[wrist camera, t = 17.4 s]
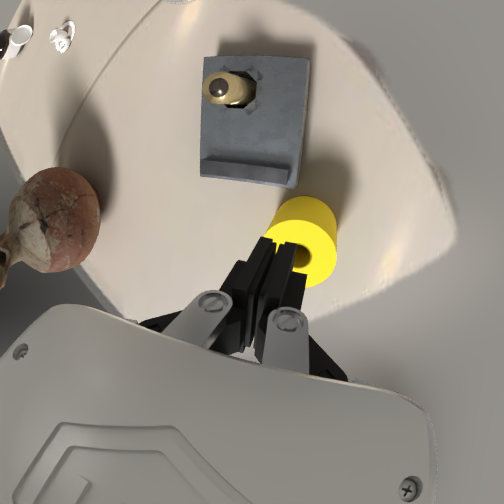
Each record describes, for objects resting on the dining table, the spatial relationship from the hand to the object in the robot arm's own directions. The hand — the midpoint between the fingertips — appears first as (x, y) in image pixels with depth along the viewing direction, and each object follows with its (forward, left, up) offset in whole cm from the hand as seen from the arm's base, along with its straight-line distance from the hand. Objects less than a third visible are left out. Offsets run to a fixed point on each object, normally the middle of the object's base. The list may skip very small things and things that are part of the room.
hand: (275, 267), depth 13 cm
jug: (+13, -48, -29) cm, 58 cm away
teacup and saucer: (-26, -57, -30) cm, 69 cm away
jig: (-5, -9, -29) cm, 31 cm away
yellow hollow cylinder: (+11, 0, -29) cm, 31 cm away
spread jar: (-37, -79, -29) cm, 92 cm away
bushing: (-9, -11, -29) cm, 32 cm away
